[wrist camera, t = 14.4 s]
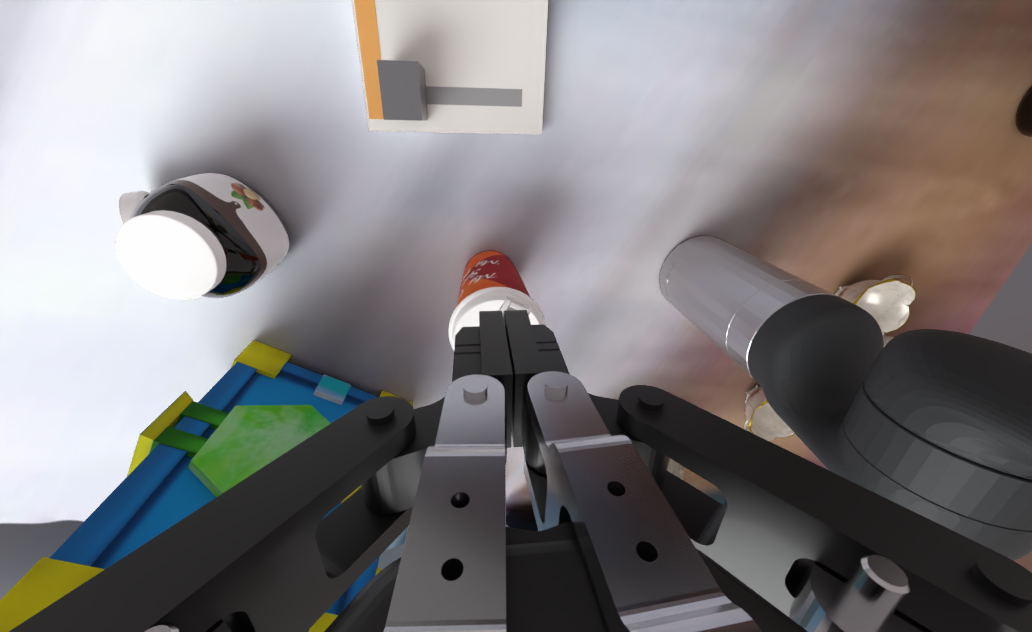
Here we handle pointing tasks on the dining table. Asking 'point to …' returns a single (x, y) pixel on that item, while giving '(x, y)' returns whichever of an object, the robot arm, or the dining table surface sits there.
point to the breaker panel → (459, 61)
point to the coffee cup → (490, 292)
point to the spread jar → (199, 237)
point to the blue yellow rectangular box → (196, 470)
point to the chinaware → (871, 295)
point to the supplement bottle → (1025, 115)
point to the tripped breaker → (402, 90)
